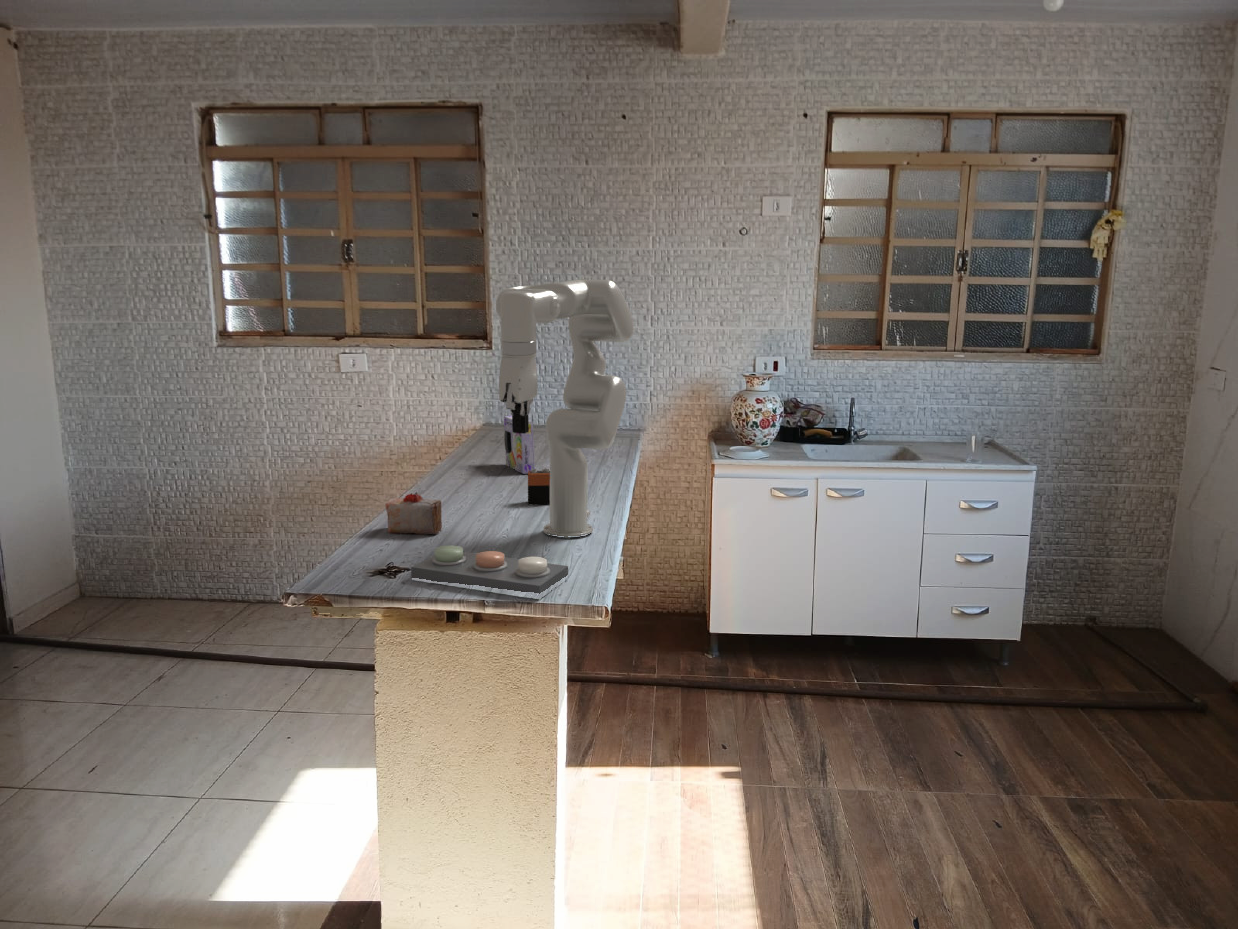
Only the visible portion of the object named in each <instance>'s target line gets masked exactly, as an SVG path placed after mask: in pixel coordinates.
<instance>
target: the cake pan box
mask: <svg viewBox="0 0 1238 929" xmlns="http://www.w3.org/2000/svg"><path fill="white" fill-rule="evenodd" d="M503 427H504V428H503V429H504V433H503V434H504V438H503V439H504V448H505V465H506V466H507V467H509V466H510V467H509V468H511V469H513V470H514V469H515V470H514V471H517V472H518V473H520V474H522V475H524V474H525V475H528V471H531V469H536V468H535V462H536V461H535V443H534V442H535V441H534V438H535V437H534V422H533V421H532V420H529V432H527V433H525V434H523V433H513V430H512V415H511V414H510V415H505V416H503Z"/></svg>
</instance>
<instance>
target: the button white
mask: <svg viewBox="0 0 1238 929" xmlns="http://www.w3.org/2000/svg"><path fill="white" fill-rule="evenodd" d="M547 563H548V559H546V558H544V557H541V556H527V557H522V558H520V559H519V560H518V570H519V571H520V572H522V573H526V574H538V573H543V572H545V571H547Z"/></svg>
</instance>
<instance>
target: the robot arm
mask: <svg viewBox="0 0 1238 929" xmlns="http://www.w3.org/2000/svg"><path fill="white" fill-rule="evenodd" d="M495 309H496V313H497V316H498V317H499V318H500V340H501V341H500V346H501V347H500V348H501V349H500V350H501V359H500V363H499V379H498V381H499V383H498V398H499V401H500V403H506V405H505V407H506V410H510V416H511V415H512V430H513V433H523V434H525V433H527V432H529V421H530V420H529V414H530V408H531V407H530V406H531V404H532V403H533V402H534V398H535V397H536V396H538V373H537V372H538V371H537V363H536V357H537V325H536V324H540V325H541V324H550V323H553V322H554V321H555V320H562V319H567V318H568V332H569V336H570V337H569V338H570V342H571V346H572V350H573V361H572V364H571V367H570V371H569V373H568V376H567V380H566V383H565V386H564V389H563V393H562V394H563V396H562V400H563V403H564V405H565V406H566V407H567V408H559V409H555V410H553V411H552V412H550V414H549V415H548V416H547V417H546V422H545V432H546V437H547V443H548V450H549V453H548V454H549V471H550V504H549V523H548V524H546V525H544V527H543V533H544V532H545V533H546V534H550V535H557V536H564V537H568V536H581V535H585V534H590V533H592V531H593V532H594V527H593V526H592V525H591V524H589V523H588V518H589V517H590V516H591V512H590V510H588V482H589V481H588V476H589V475H588V472H589V471H588V468H589V467H588V466H589V465H588V461H587V459H586V457H585V455H584V453H583V452H582V450H581V449H585V450H586V449H587V450H601V451H602V450H607V449H609V448H610V447H611V446H612V444H614V440H615V438H616V434H617V432H618V429H619V425H620V422H621V418H622V414H623V412H624V408H625V403H626V398H627V390H626V384H625V382H624V381H623V379H622V378H621V377H619V376H617V375H613V374H612V375H610V374H604V373H605V370H606V367H607V362H606V359H605V357H604V355H603V353H602V351H601V350H600V349H599V348H598V347H597V345H596V343H595V342H605V343H623V342H626V341H628V340H629V339H630V338H631V337H632V335H633V333H634V326H635V325H634V317H633V315H632V313H631V310H630V308H629V305H628V303H627V301H626V299H625V296H624V295H623V293H622V291H621V289H620V288H619V286H618V285H617V284H616V283H615V282H614V281H612V280H610V279H585V278H584V279H581V278H578V279H572V280H565V281H559V282H549V283H548V282H547V283H541V284H533V285H523V286H522V285H521V286H520V285H519V286H512V287H507V288H504V289H503V290H501V291H500V292H499V294H498V295H497V298H496V300H495ZM545 533H544V534H545ZM546 534H545V535H546ZM592 534H593V533H592ZM590 535H591V534H590Z"/></svg>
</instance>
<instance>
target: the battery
mask: <svg viewBox="0 0 1238 929" xmlns="http://www.w3.org/2000/svg"><path fill="white" fill-rule="evenodd" d="M527 503H528V505H530V504H533V505H535V504H541V505H550V468H547V467H545V468H544V467H543V468H541V470H537V468H535V469H531V471H528V474H527Z"/></svg>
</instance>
